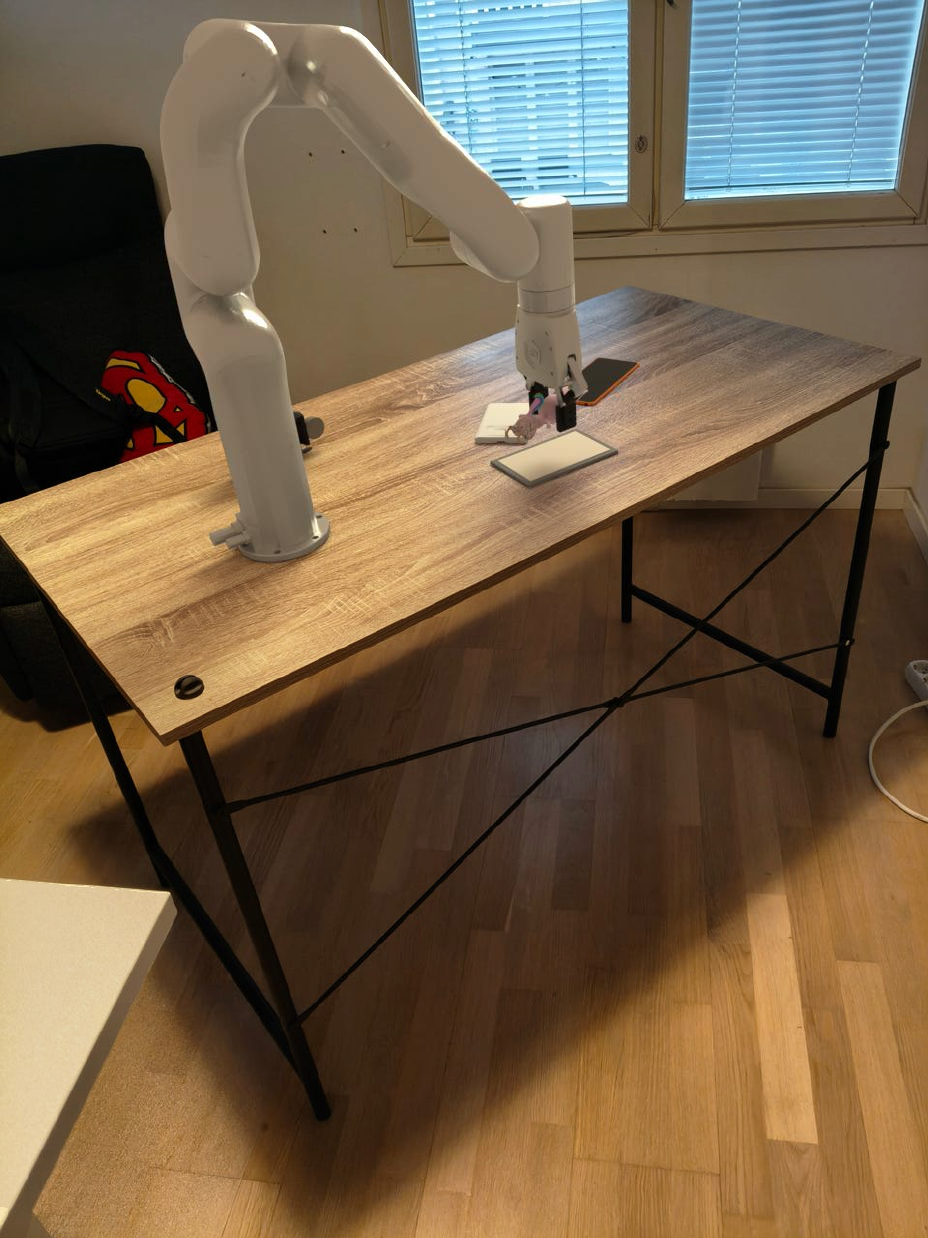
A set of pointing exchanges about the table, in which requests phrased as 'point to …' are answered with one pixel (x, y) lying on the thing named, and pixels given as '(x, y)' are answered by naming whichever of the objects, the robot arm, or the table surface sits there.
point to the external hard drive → (500, 422)
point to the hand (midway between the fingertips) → (552, 420)
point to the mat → (553, 457)
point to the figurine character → (307, 428)
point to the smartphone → (604, 378)
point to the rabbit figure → (536, 416)
